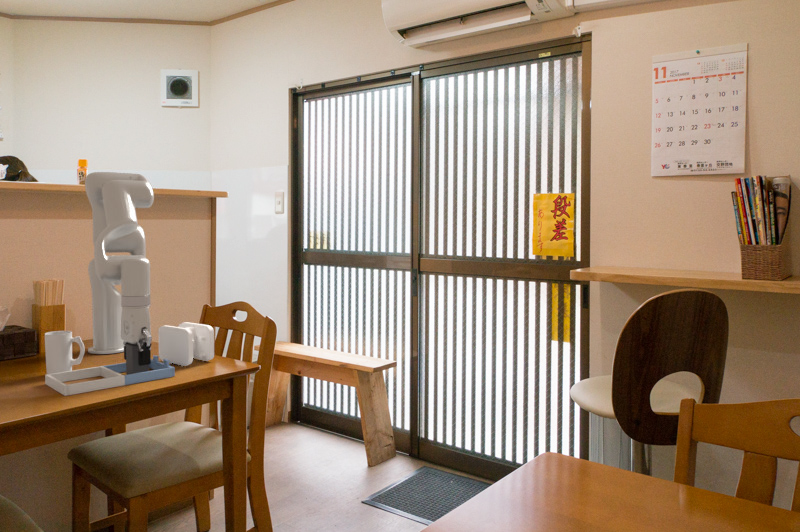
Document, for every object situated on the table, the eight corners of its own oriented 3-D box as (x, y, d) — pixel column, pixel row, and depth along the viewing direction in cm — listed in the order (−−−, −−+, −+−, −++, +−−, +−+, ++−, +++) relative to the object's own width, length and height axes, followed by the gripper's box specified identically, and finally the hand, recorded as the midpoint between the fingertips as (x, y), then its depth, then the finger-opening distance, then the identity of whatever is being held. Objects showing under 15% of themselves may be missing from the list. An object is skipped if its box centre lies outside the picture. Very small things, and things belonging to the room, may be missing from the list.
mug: (41, 378, 169) (40, 335, 168) (51, 372, 176) (49, 331, 175) (81, 376, 171) (80, 334, 170) (88, 371, 178) (87, 330, 177)
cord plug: (126, 375, 173) (125, 333, 172) (142, 373, 176) (141, 331, 175) (132, 378, 170) (132, 335, 169) (149, 375, 173) (148, 333, 172)
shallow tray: (45, 383, 163) (45, 368, 163) (151, 366, 183) (150, 353, 183) (64, 395, 152) (64, 379, 152) (174, 376, 173) (174, 361, 172)
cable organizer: (156, 362, 190) (155, 325, 189) (184, 356, 199) (184, 320, 198) (188, 368, 182) (187, 329, 181) (216, 362, 191) (215, 325, 190)
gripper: (110, 299, 175) (111, 358, 176) (135, 306, 163) (136, 369, 164) (136, 297, 180) (137, 355, 181) (162, 303, 168) (163, 365, 169)
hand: (137, 361), depth 173 cm, fingers open, 9 cm apart
